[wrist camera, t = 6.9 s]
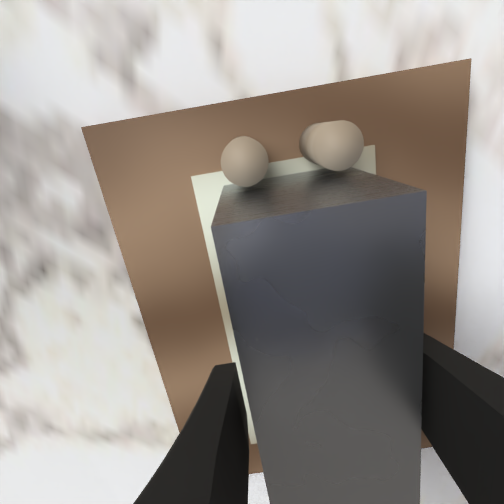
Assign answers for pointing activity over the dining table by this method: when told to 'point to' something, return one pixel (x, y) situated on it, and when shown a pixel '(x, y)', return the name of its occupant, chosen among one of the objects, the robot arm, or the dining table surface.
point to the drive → (329, 330)
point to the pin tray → (266, 166)
